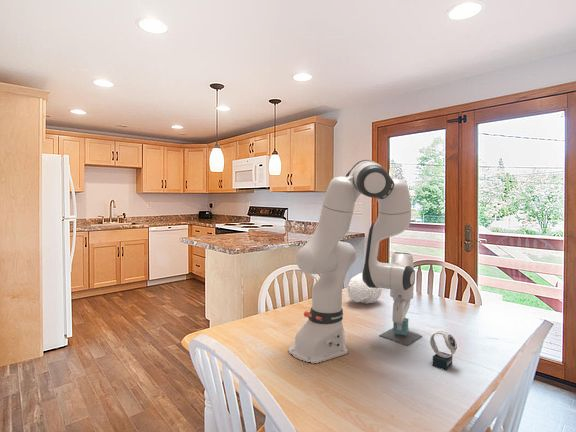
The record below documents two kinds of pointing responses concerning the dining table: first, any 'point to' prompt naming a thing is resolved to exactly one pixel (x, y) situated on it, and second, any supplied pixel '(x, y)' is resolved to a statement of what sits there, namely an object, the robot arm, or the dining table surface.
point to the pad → (401, 337)
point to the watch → (442, 358)
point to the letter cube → (404, 327)
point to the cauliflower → (362, 291)
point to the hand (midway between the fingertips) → (401, 326)
